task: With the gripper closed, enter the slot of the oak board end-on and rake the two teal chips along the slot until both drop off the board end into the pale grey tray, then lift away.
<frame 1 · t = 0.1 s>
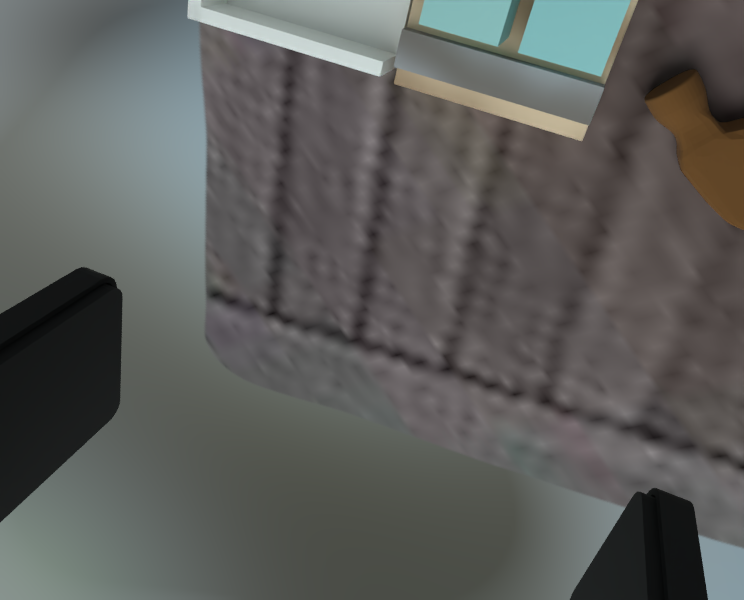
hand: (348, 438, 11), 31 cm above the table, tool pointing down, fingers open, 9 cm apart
chip a: (578, 12, 33), point 2 cm above the table, touching slot board
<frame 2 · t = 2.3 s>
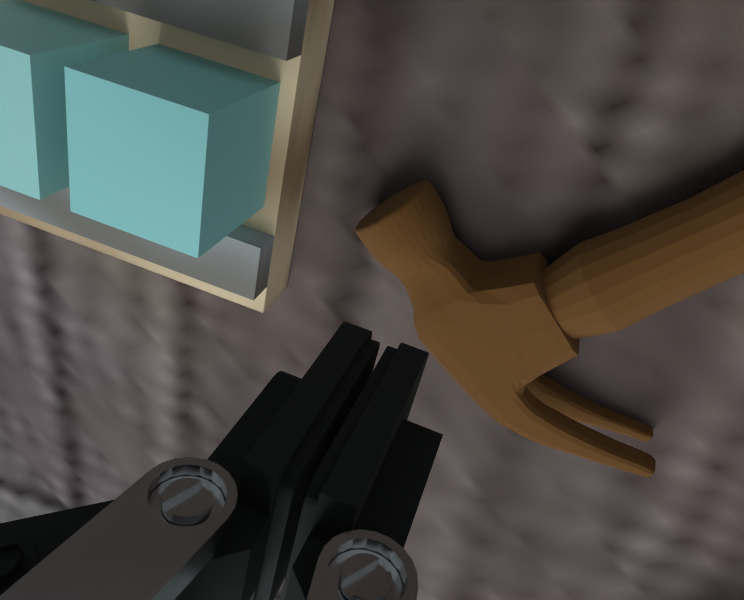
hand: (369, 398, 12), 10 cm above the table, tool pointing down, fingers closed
chip a: (213, 128, 20), point 2 cm above the table, touching slot board
slot board: (164, 87, 22), on the table
chip b: (73, 81, 21), point 2 cm above the table, touching slot board
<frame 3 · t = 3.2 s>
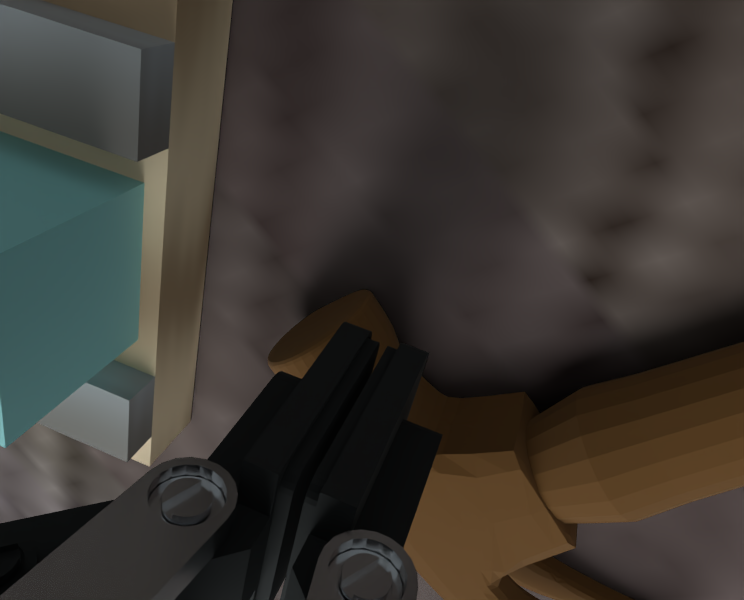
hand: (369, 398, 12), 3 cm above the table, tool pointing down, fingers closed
chip a: (63, 237, 15), point 2 cm above the table, touching slot board
slot board: (18, 170, 17), on the table
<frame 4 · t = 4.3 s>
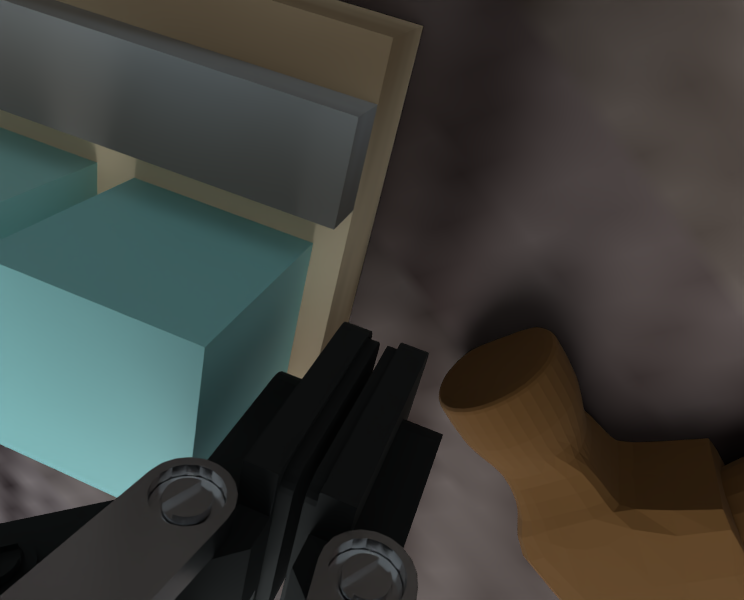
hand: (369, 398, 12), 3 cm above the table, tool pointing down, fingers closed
chip a: (211, 293, 14), point 2 cm above the table, touching gripper, slot board
slot board: (150, 216, 16), on the table
chip b: (20, 217, 15), point 2 cm above the table, touching slot board
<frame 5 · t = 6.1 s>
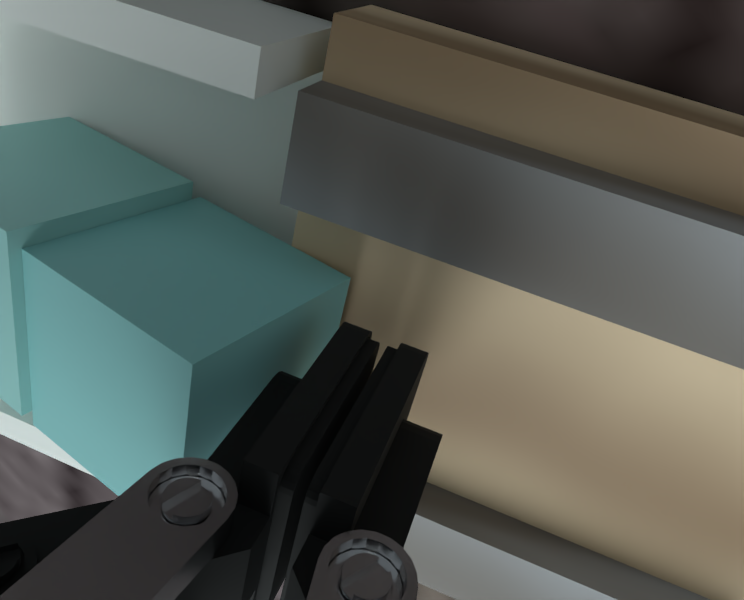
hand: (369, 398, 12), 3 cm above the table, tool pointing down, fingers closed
chip a: (258, 316, 14), point 2 cm above the table, tilted 15°, touching gripper, slot board
tray: (80, 185, 16), on the table
slot board: (539, 356, 15), on the table
chip b: (126, 228, 15), point 1 cm above the table, tilted 15°, touching tray
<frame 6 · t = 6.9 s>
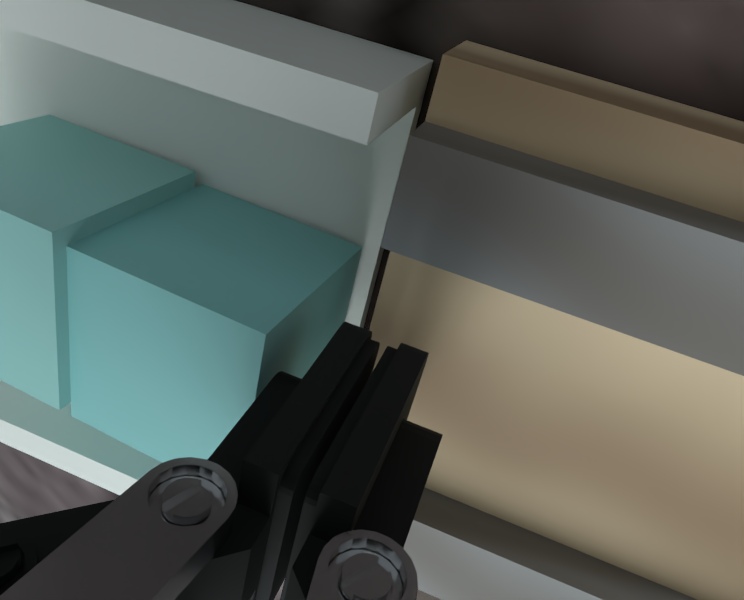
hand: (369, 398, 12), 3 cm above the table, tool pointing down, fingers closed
chip a: (267, 291, 15), point 1 cm above the table, touching chip b, gripper, tray
tray: (146, 217, 16), on the table
slot board: (624, 393, 14), on the table
chip b: (119, 221, 16), point 1 cm above the table, touching chip a, tray
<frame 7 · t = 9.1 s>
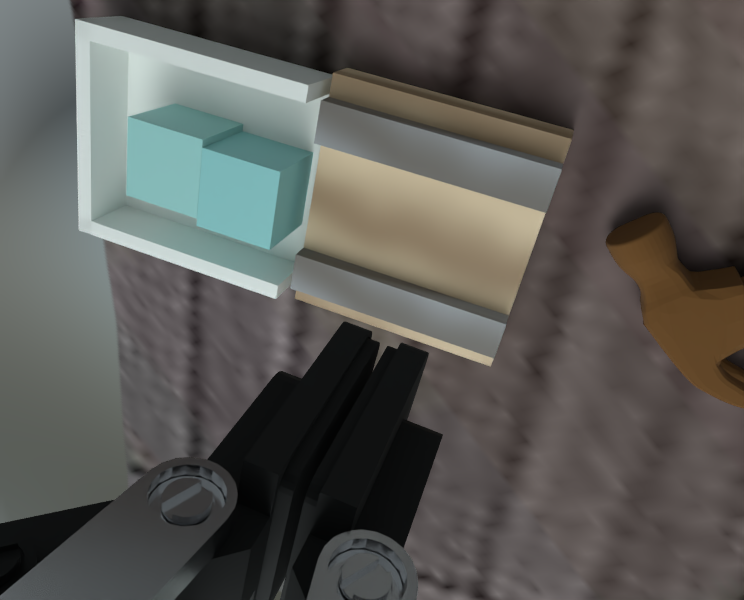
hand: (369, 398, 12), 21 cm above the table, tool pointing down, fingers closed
chip a: (272, 178, 35), resting on tray
tray: (216, 150, 35), on the table
slot board: (426, 215, 33), on the table
chip b: (205, 150, 35), resting on tray
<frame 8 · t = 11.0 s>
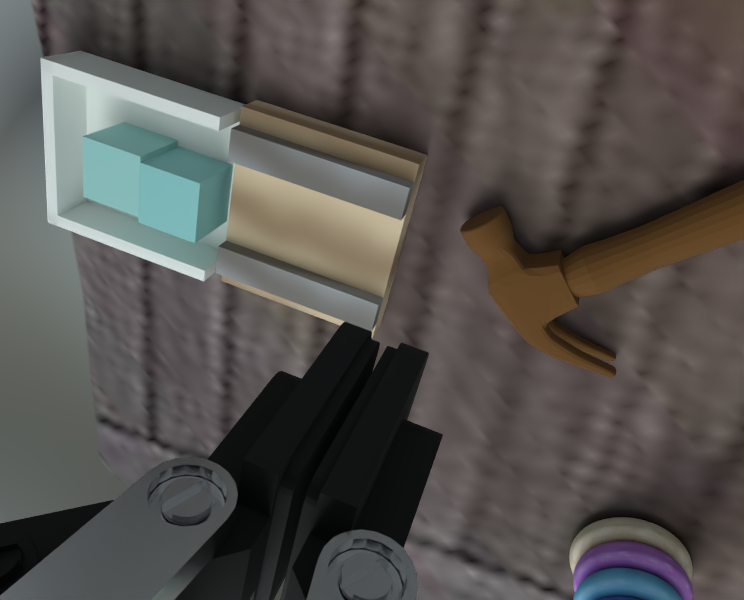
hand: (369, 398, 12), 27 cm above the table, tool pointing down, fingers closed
chip a: (202, 184, 43), resting on tray
stacking toy: (628, 551, 47), on the table
tray: (158, 159, 44), on the table
slot board: (322, 217, 42), on the table
chip b: (149, 160, 43), resting on tray
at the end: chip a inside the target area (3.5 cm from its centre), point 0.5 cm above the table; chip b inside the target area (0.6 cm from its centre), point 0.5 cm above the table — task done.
